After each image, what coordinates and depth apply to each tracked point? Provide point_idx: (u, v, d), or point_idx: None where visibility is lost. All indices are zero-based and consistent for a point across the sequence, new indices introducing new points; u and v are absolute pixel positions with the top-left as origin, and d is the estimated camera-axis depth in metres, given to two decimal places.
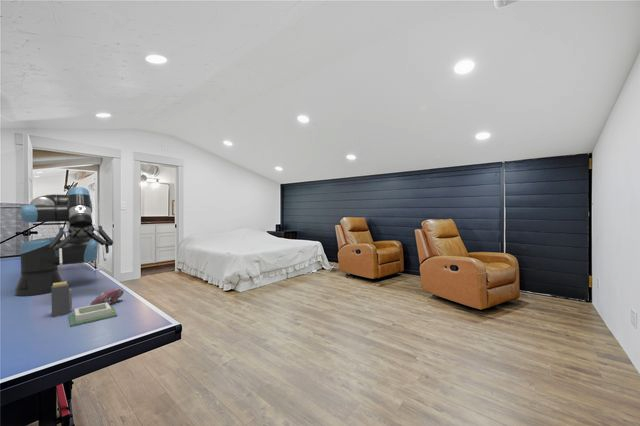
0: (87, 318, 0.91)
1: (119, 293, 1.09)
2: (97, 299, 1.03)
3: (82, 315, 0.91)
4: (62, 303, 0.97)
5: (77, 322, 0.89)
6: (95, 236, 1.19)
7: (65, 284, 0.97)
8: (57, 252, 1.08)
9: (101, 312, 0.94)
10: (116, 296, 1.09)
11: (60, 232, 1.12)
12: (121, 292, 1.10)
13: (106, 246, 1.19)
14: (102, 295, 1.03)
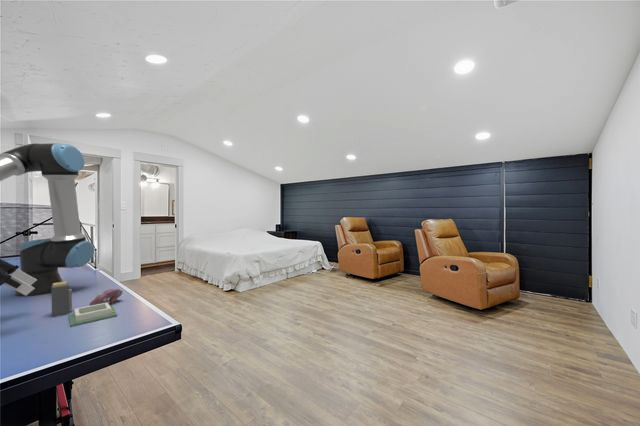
0: (87, 318, 0.91)
1: (118, 293, 1.10)
2: (96, 299, 1.03)
3: (82, 315, 0.91)
4: (62, 303, 0.97)
5: (77, 322, 0.89)
6: None
7: (65, 284, 0.97)
8: None
9: (101, 312, 0.94)
10: (115, 296, 1.09)
11: None
12: (120, 292, 1.10)
13: None
14: (101, 295, 1.03)
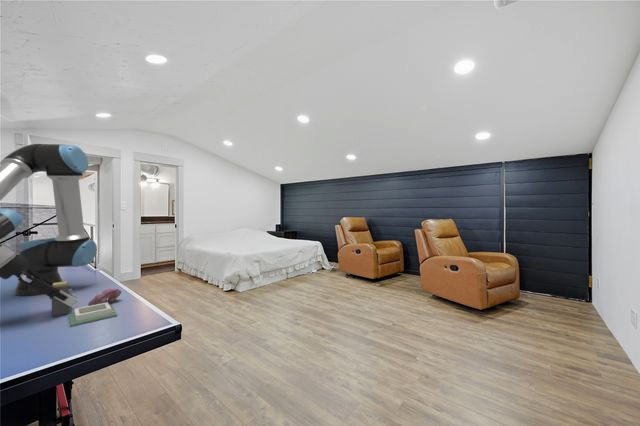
0: (87, 318, 0.91)
1: (117, 293, 1.10)
2: (94, 299, 1.03)
3: (82, 315, 0.91)
4: (62, 303, 0.97)
5: (77, 322, 0.89)
6: None
7: (65, 284, 0.97)
8: None
9: (101, 312, 0.94)
10: (114, 296, 1.09)
11: None
12: (119, 292, 1.10)
13: (56, 296, 0.95)
14: (100, 295, 1.04)
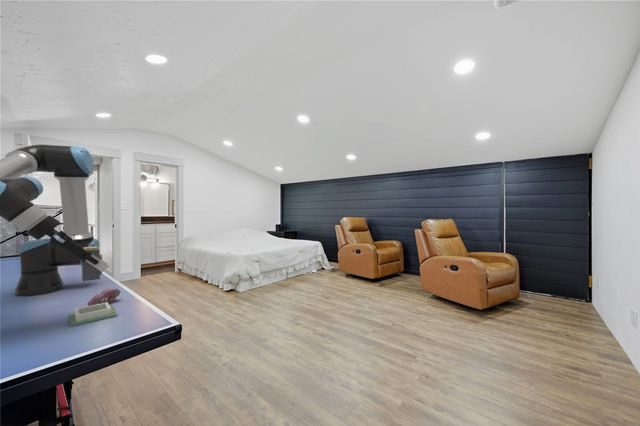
0: (87, 318, 0.91)
1: (116, 293, 1.10)
2: (94, 299, 1.03)
3: (82, 315, 0.91)
4: (93, 268, 0.94)
5: (77, 322, 0.89)
6: None
7: (96, 248, 0.95)
8: None
9: (101, 312, 0.94)
10: (113, 296, 1.09)
11: None
12: (118, 292, 1.11)
13: (88, 260, 0.92)
14: (99, 295, 1.04)
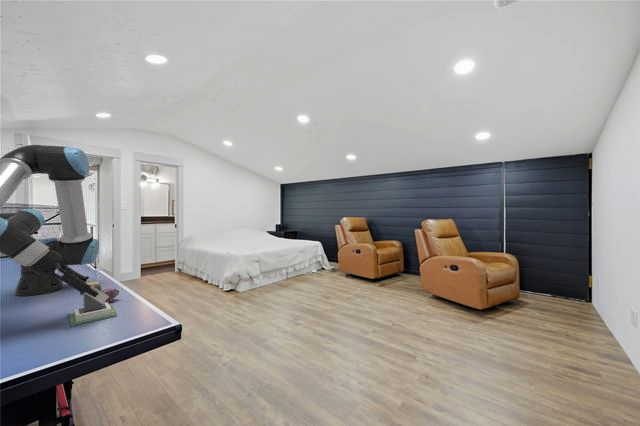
0: (87, 318, 0.91)
1: (115, 293, 1.10)
2: None
3: (82, 315, 0.91)
4: (95, 304, 0.94)
5: (77, 322, 0.89)
6: None
7: (97, 284, 0.95)
8: None
9: (101, 312, 0.94)
10: (112, 296, 1.09)
11: None
12: (117, 292, 1.11)
13: (87, 292, 0.90)
14: None
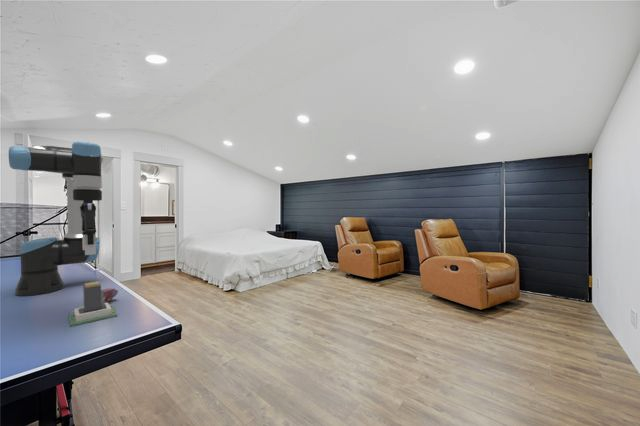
0: (87, 318, 0.91)
1: (113, 292, 1.10)
2: None
3: (82, 315, 0.91)
4: (95, 304, 0.94)
5: (77, 322, 0.89)
6: (84, 220, 0.90)
7: (97, 284, 0.95)
8: (84, 235, 0.99)
9: (101, 312, 0.94)
10: (110, 295, 1.09)
11: None
12: (115, 291, 1.11)
13: (87, 236, 0.88)
14: None
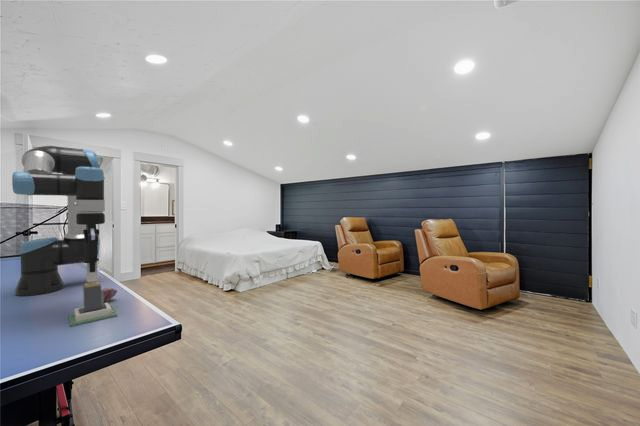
0: (87, 318, 0.91)
1: (112, 292, 1.10)
2: None
3: (82, 315, 0.91)
4: (95, 304, 0.94)
5: (77, 322, 0.89)
6: (87, 246, 0.93)
7: (97, 284, 0.95)
8: None
9: (101, 312, 0.94)
10: (109, 295, 1.10)
11: None
12: (114, 291, 1.11)
13: (89, 264, 0.94)
14: None
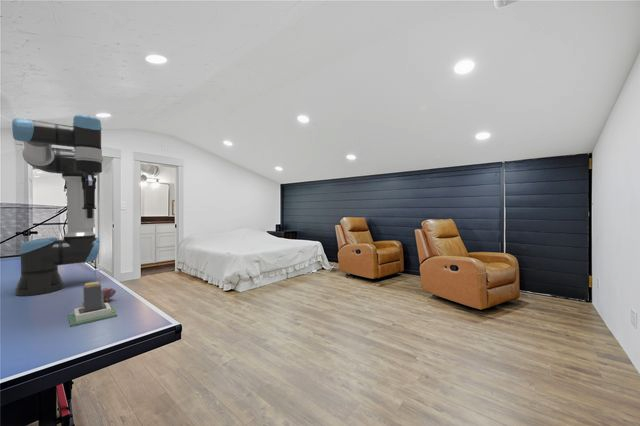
0: (87, 318, 0.91)
1: (111, 292, 1.10)
2: None
3: (82, 315, 0.91)
4: (95, 304, 0.94)
5: (77, 322, 0.89)
6: None
7: (97, 284, 0.95)
8: None
9: (101, 312, 0.94)
10: (108, 295, 1.10)
11: None
12: (113, 291, 1.11)
13: (87, 210, 0.97)
14: None
